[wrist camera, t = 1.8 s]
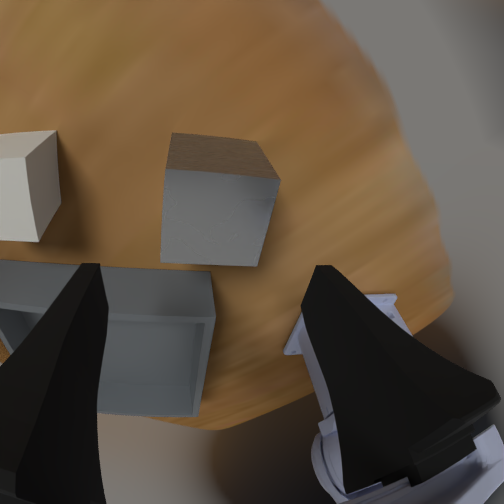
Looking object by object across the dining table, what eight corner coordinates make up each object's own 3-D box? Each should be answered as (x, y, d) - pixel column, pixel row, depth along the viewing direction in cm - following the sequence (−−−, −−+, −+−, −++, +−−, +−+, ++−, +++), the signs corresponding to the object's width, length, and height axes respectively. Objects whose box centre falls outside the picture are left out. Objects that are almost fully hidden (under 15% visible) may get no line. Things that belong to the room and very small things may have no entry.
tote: (210, 271, 21) (216, 316, 18) (194, 383, 30) (198, 416, 27) (0, 259, 17) (-21, 299, 14) (52, 373, 26) (47, 405, 23)
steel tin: (256, 141, 16) (280, 180, 12) (240, 211, 19) (257, 266, 15) (172, 132, 15) (165, 168, 11) (165, 206, 17) (160, 262, 13)
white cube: (57, 129, 13) (25, 157, 10) (62, 201, 16) (38, 242, 13) (-6, 134, 12) (-43, 162, 9) (4, 201, 14) (-25, 238, 11)
